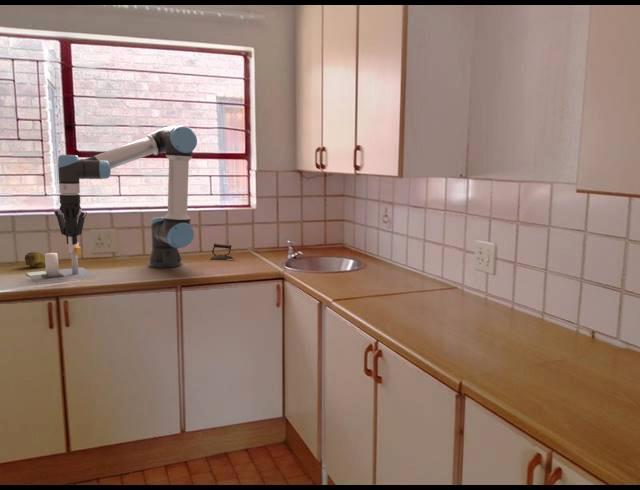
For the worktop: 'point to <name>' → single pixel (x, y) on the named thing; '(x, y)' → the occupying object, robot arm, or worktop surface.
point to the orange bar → (78, 249)
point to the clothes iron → (221, 257)
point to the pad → (36, 273)
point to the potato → (35, 260)
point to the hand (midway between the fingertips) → (72, 252)
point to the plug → (51, 264)
